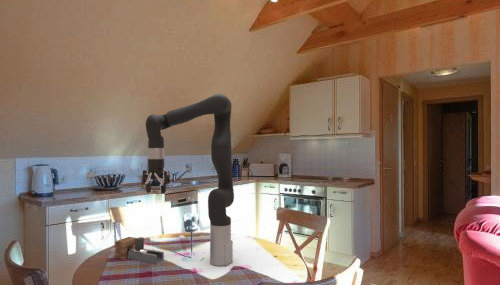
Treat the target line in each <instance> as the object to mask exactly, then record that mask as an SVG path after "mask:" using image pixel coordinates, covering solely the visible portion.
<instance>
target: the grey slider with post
mask: <svg viewBox="0 0 500 285" xmlns="http://www.w3.org/2000/svg"><path fill="white" fill-rule="evenodd" d="M135 238H136V239H135V248H130V247H128V248H127V254H128V251H129V250H131V251H137V252H142V253H148V251H147V250H142V249H145V238H144V237H142V236H139V237H135Z"/></svg>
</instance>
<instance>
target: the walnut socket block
mask: <svg viewBox="0 0 500 285" xmlns="http://www.w3.org/2000/svg"><path fill="white" fill-rule="evenodd" d="M136 238H137V237H134V236H126V237H124V238H121V239H118V240H116V241H115V242H114V244H115V245H114V250H115V251H114V252H115V253H114V257H115V258H116V259H120V260H124V259H126V258H127V259H128V254H127V248H128V247H130V248H135V239H136Z"/></svg>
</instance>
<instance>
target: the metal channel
mask: <svg viewBox="0 0 500 285" xmlns="http://www.w3.org/2000/svg"><path fill="white" fill-rule="evenodd" d="M142 250H147V251H148V253H142V252H137V251H131V250H129V251H128V257H127V259H128V260H133V261H139V262H143V263H144V262H145V263H150V264H155V265H156V264H158V263H160V262H162V261H164V260H165V258H164V257H165V256H164V254H165V252H164V251H160V250H153V249H149V248H148V249H147V248H144V249H142Z"/></svg>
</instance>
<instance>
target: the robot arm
mask: <svg viewBox="0 0 500 285" xmlns="http://www.w3.org/2000/svg"><path fill="white" fill-rule="evenodd" d="M206 115H207V116H208V115H213V118H214V127H213V128H214V130H213V134H212V138H211V142H210V145H211V146H210V154H211V156H210V157H211V162H212V165H213V168H214V169H215V172H216V174H217V182H218V183H217V188H214V189H212V190H211V191H210V192H209V194H208V197H207V212H208V213H207V214H208V218H209V222H210V223H209V225H210V226H209V228H210V230H209V234H210V235H209V255H210V256H209V257H210V258H209V263H210V265H212V266H216V267H222V266H224V267H227V266H228V265H229V264H231V263H232V262H233V258H234V257H233V256H234V255H233V253H234V252H233V251H234V248H233V246H234V244H233V243H234V241H233V240H232V230H231V229H232V218H231V217H230V216H228V215H227V208H229V207H230V206H232V205H233V203H234V201H235V192H234V183H233V173H232V172H233V168H232V167H233V163H232V162H233V161H232V160H233V159H232V157H233V154H232V132H231V118H232V117H231V116H232V101H231V100H230V99H229V97H227V96H226V95H225V94H222V93H215V94H213V95H211V96H209V97H207V98H205V99H202V100H200V101H198V102H196V103H192V104H190V105H186V106H182V107H179V108H175V109H172V110H168V111H167V112H166V113H164V114H160V115H159V114H158V115H157V114H150V115H148V116H147V118H146V120H145V130H146V135H147V138H148V139H147V140H148V142H147V148H148V149H147V169H143V170H142V179H141V182H142V183H143V184H145V191H146V193H149V194H150V193H151V192H152V183H153V181H154V180H155V181H158V183H160V193H161V195H162V194H166V192H167V185H169V184H171V179H170V170H164V168H165V139H164V137H163V136H162V133H161V131H163V130H166V129H169V128H171V127H173V126H177V125H181V124H184V123H189V121H192V120H194V119H196V118H199V117H202V116H206Z"/></svg>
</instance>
